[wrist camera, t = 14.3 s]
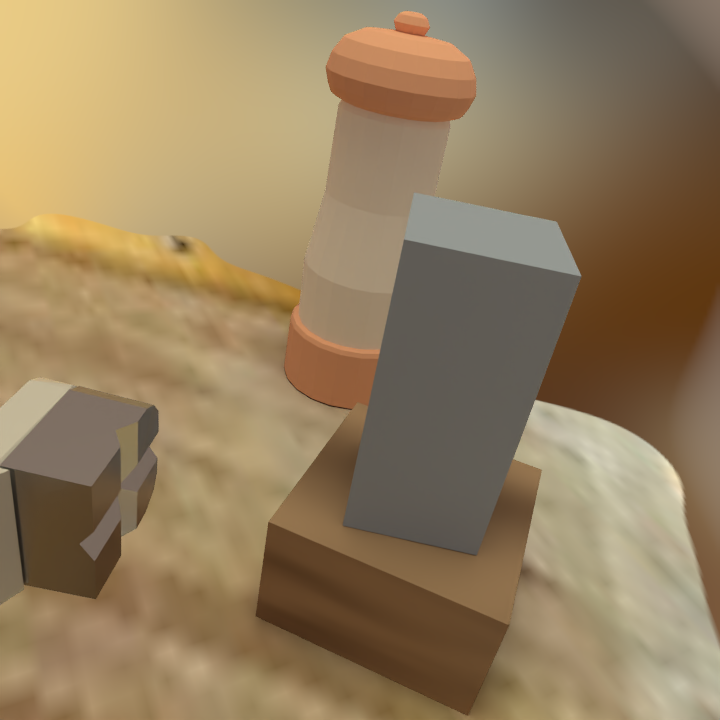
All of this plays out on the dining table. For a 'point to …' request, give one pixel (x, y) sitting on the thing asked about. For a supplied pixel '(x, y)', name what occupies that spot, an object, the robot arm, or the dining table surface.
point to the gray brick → (458, 369)
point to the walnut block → (393, 580)
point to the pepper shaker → (371, 198)
